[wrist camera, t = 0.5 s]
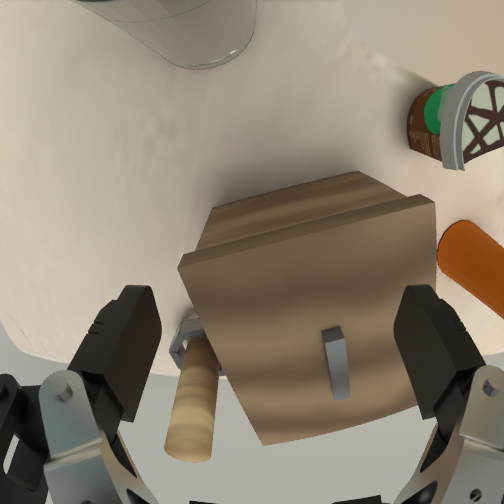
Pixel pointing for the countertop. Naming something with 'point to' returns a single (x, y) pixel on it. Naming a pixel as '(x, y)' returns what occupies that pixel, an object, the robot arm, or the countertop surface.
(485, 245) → the spray bottle
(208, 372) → the tan wooden cylinder
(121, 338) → the robot arm
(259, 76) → the countertop surface
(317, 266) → the toolbox
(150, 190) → the countertop surface
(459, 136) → the food container
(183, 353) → the hasp
